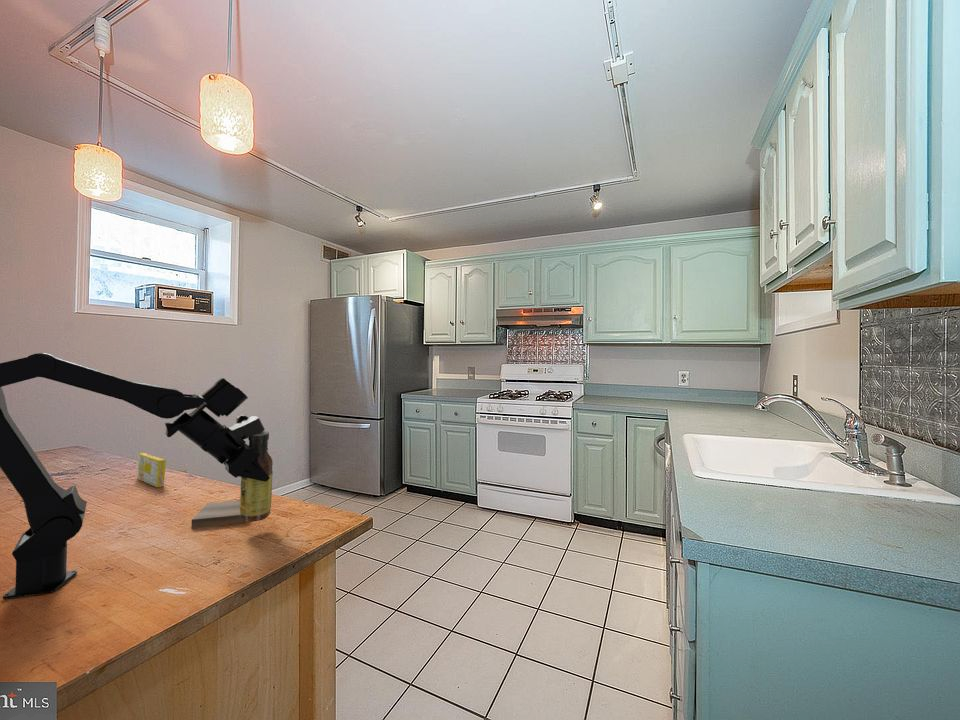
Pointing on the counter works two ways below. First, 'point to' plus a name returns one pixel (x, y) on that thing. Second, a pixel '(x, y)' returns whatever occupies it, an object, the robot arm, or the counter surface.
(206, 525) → the trivet
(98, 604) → the counter surface
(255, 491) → the sauce bottle
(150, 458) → the candy box
